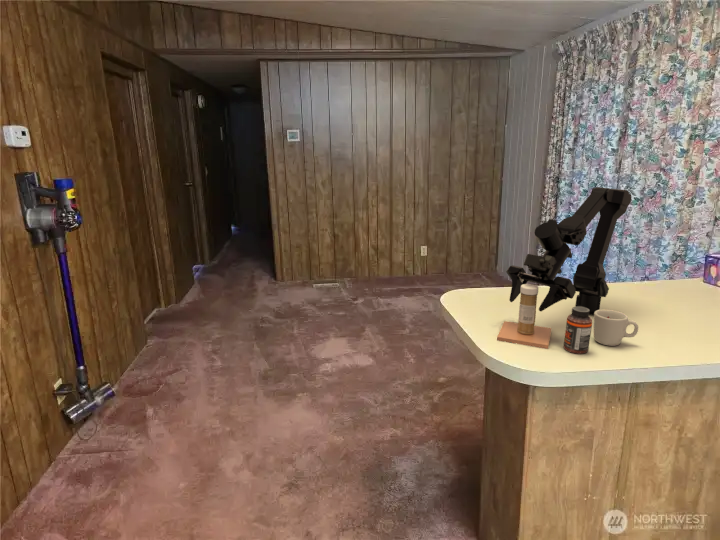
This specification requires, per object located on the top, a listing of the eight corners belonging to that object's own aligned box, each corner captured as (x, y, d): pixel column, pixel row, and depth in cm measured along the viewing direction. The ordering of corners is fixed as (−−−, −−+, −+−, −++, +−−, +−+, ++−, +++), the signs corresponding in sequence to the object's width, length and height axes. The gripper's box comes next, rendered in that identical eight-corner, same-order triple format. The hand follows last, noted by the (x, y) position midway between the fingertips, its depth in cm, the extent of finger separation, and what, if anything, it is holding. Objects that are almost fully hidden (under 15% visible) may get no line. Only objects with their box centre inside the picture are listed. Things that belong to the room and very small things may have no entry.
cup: (632, 340, 130) (636, 312, 128) (638, 351, 122) (643, 322, 120) (588, 334, 133) (592, 307, 131) (592, 345, 126) (596, 317, 124)
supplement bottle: (558, 345, 126) (563, 304, 123) (580, 344, 127) (585, 304, 124) (570, 355, 120) (575, 312, 117) (592, 354, 121) (598, 312, 118)
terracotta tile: (551, 331, 135) (551, 328, 135) (548, 348, 124) (548, 345, 124) (504, 324, 140) (504, 321, 140) (496, 340, 129) (497, 336, 129)
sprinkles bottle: (535, 331, 133) (540, 284, 129) (532, 336, 129) (536, 289, 125) (518, 327, 135) (523, 282, 132) (514, 333, 131) (519, 286, 128)
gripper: (513, 237, 135) (485, 281, 131) (575, 249, 120) (545, 298, 117) (527, 260, 142) (500, 302, 138) (587, 274, 127) (559, 321, 124)
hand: (524, 305), depth 129 cm, fingers open, 9 cm apart
